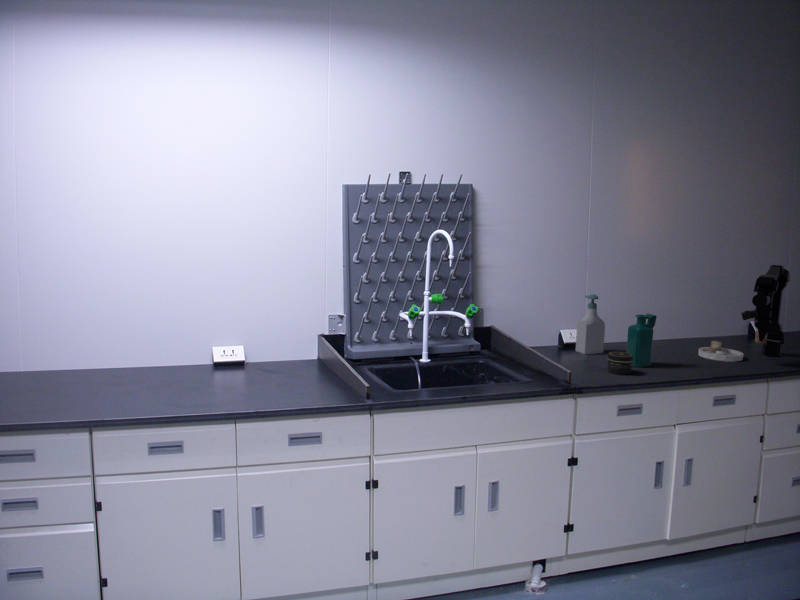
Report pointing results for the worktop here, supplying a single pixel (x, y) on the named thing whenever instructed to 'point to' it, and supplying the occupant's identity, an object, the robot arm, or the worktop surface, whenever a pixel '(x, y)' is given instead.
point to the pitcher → (641, 340)
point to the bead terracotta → (758, 338)
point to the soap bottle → (590, 331)
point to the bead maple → (715, 346)
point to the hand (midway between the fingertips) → (760, 340)
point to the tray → (721, 354)
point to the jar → (619, 363)
